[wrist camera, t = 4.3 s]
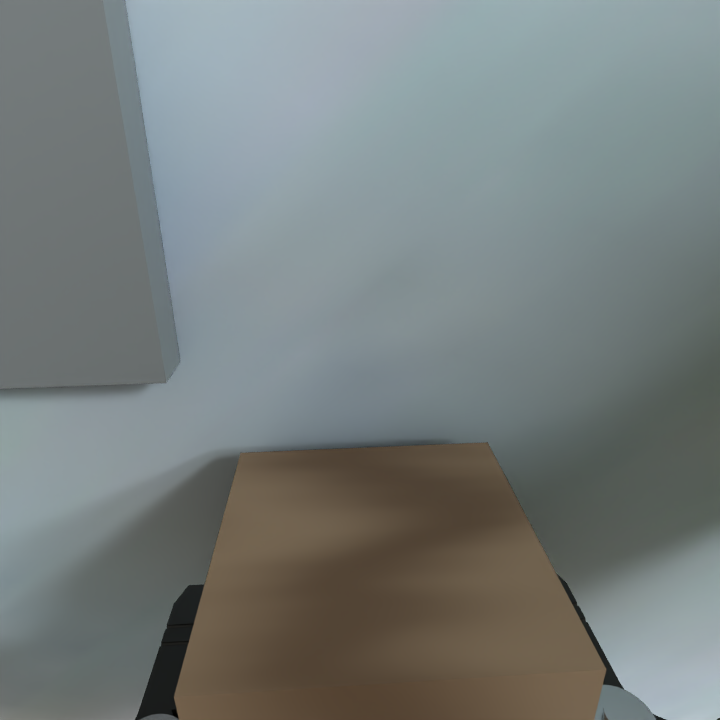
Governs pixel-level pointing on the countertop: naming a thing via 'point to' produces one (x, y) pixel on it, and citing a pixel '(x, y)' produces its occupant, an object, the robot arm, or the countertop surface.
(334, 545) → the walnut cube
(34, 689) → the countertop surface
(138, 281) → the slate tile
